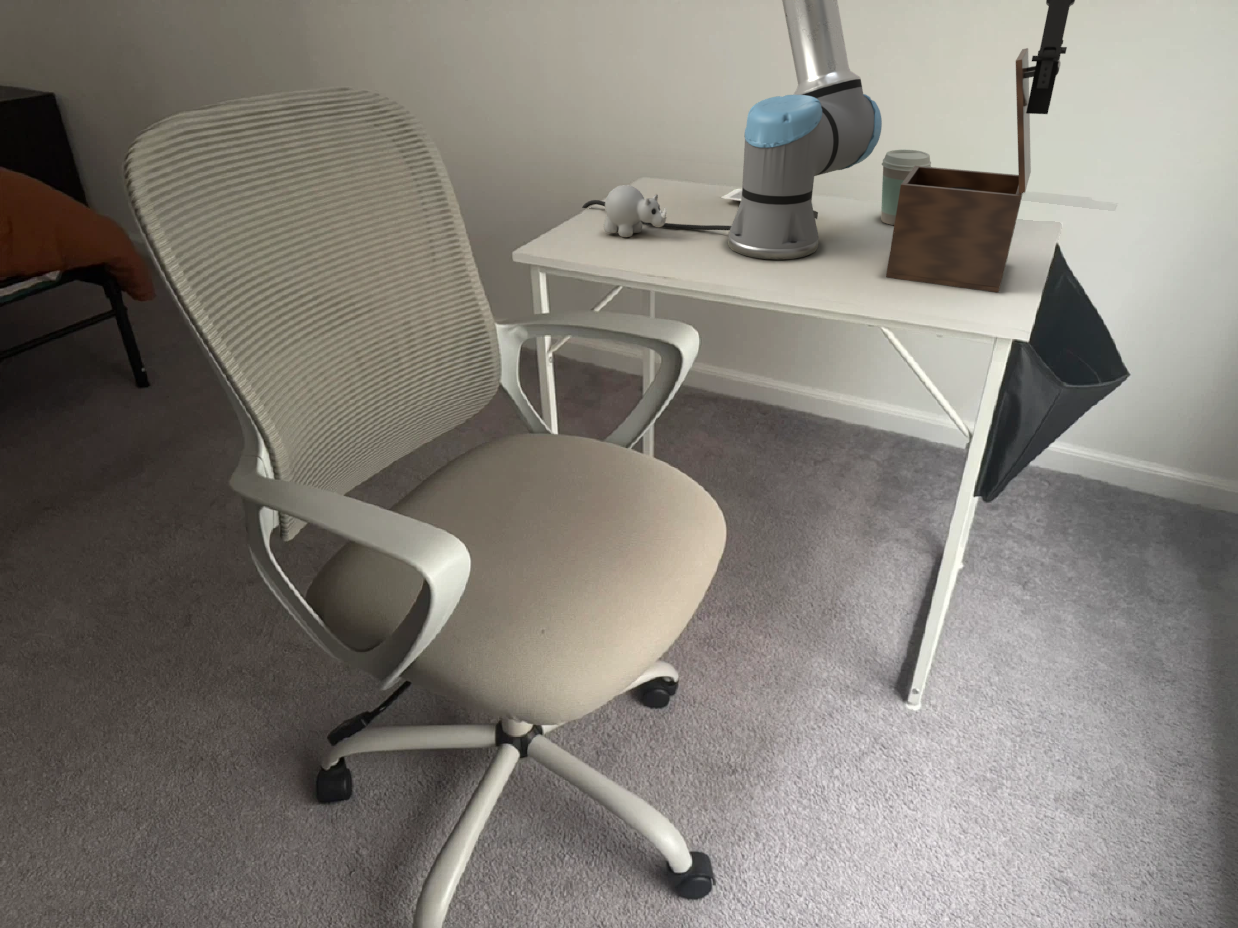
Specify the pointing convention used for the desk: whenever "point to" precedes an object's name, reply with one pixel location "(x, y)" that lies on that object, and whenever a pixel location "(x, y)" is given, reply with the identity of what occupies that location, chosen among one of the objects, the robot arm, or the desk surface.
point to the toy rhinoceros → (631, 211)
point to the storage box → (954, 227)
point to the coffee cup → (898, 178)
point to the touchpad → (734, 195)
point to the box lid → (1024, 117)
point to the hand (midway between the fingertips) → (1038, 108)
